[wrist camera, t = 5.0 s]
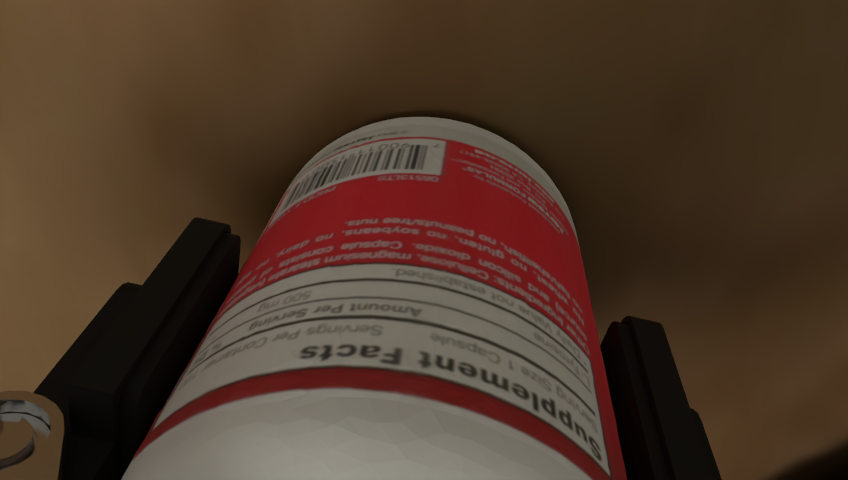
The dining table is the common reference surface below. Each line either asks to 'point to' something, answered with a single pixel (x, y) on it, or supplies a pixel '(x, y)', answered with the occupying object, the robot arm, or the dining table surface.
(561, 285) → the pill bottle
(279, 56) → the dining table surface
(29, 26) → the dining table surface
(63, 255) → the dining table surface
